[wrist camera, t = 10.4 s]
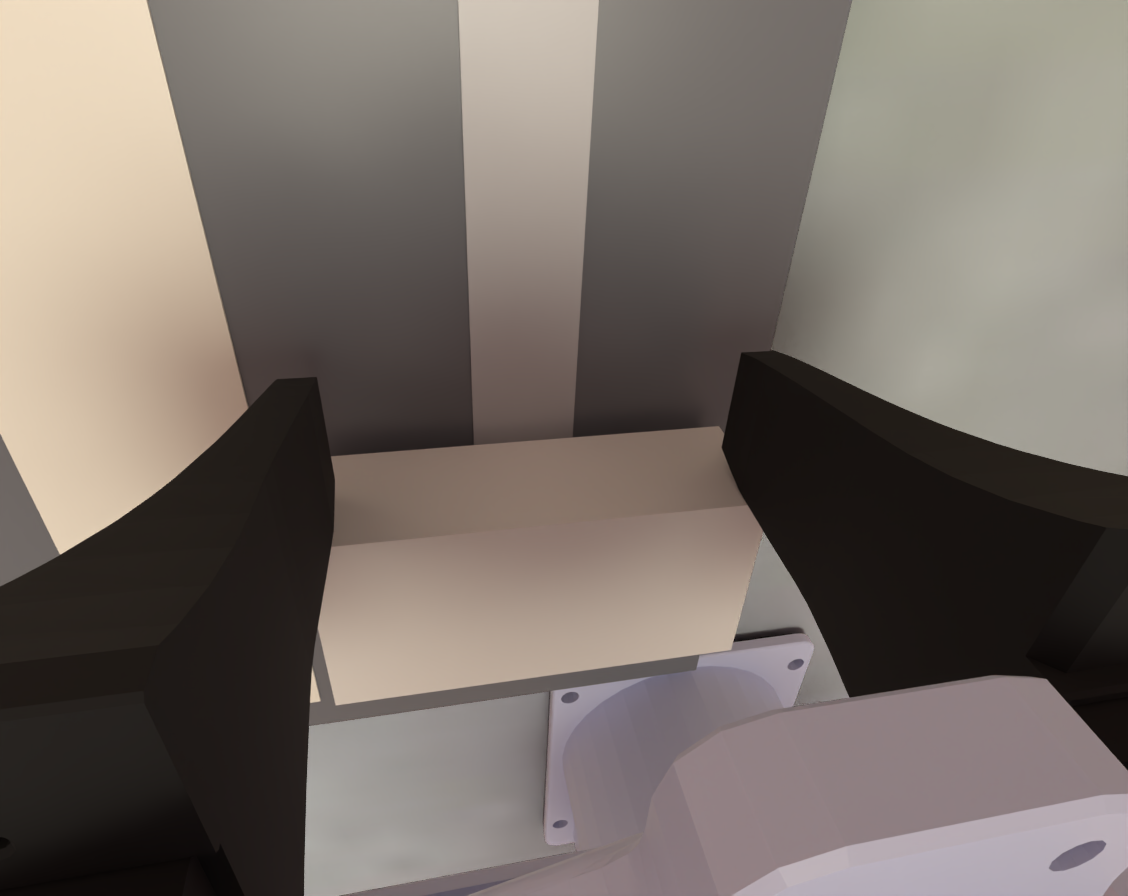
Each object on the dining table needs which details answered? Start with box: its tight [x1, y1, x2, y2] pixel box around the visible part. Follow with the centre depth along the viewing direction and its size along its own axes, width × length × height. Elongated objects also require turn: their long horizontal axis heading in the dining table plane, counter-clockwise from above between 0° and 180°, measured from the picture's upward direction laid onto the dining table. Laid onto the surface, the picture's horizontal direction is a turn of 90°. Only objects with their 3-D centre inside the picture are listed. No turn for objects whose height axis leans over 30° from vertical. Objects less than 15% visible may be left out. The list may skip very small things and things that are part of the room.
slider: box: [318, 426, 763, 705], centre depth 14 cm, size 4×8×2 cm, turn 88°
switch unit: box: [0, 0, 852, 726], centre depth 11 cm, size 24×24×1 cm
